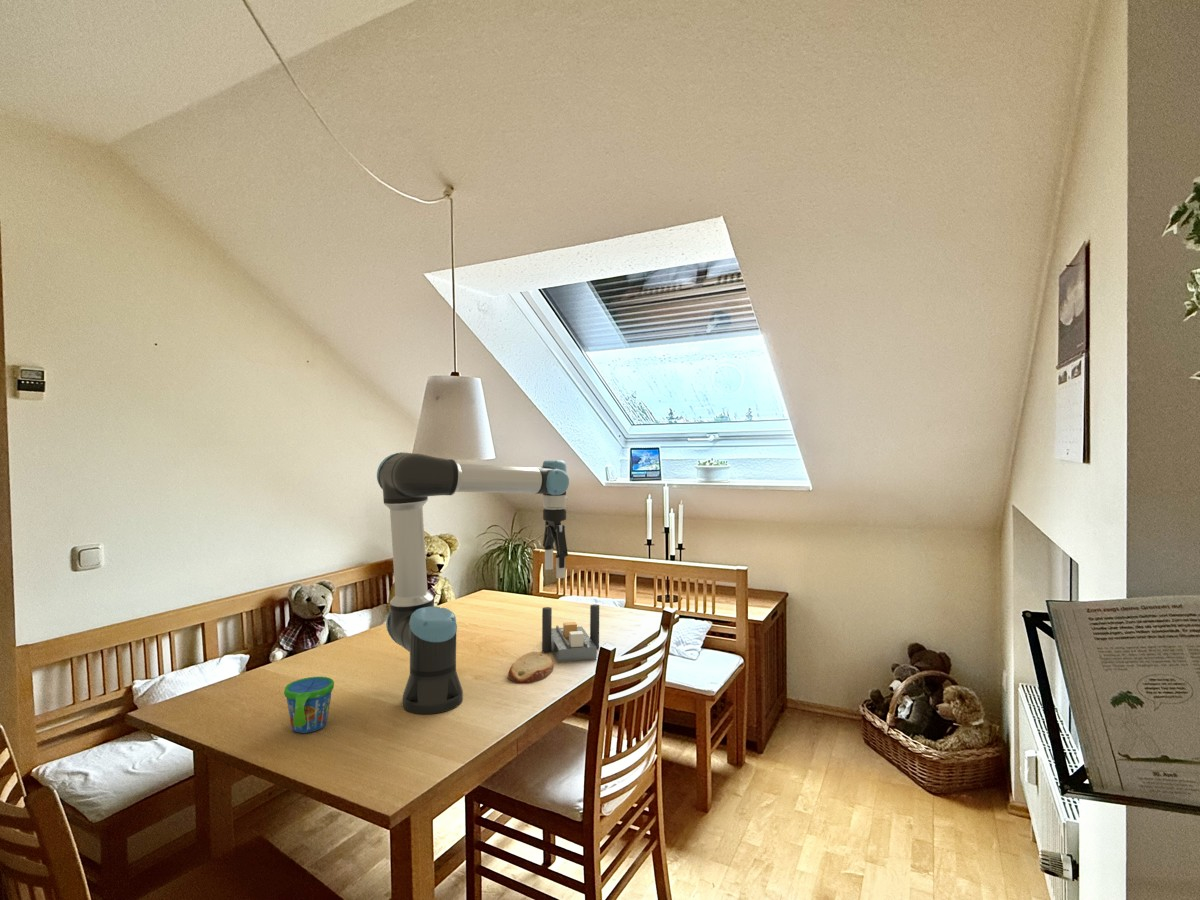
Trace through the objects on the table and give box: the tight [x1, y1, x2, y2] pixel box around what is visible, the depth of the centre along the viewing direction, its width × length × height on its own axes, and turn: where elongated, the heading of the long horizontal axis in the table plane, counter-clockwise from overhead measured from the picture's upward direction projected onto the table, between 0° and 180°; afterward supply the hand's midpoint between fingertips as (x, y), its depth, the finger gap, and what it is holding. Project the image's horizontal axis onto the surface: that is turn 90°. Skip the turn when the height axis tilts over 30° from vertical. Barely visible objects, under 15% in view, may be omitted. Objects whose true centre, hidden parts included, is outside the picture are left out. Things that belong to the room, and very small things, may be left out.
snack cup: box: [283, 676, 335, 734], centre depth 144 cm, size 16×10×10 cm
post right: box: [589, 604, 600, 650], centre depth 202 cm, size 3×3×14 cm
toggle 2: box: [569, 631, 584, 647], centre depth 192 cm, size 3×4×4 cm
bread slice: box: [507, 651, 554, 685], centre depth 182 cm, size 18×18×4 cm
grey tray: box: [551, 625, 598, 663], centre depth 200 cm, size 22×12×5 cm, turn 14°
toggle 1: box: [562, 621, 578, 637], centre depth 202 cm, size 3×4×4 cm
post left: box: [541, 606, 553, 654], centre depth 198 cm, size 3×3×14 cm
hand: (554, 573), depth 198 cm, fingers open, 13 cm apart
